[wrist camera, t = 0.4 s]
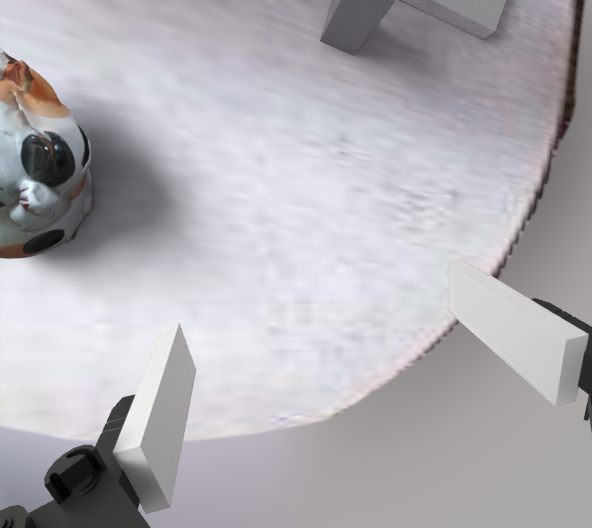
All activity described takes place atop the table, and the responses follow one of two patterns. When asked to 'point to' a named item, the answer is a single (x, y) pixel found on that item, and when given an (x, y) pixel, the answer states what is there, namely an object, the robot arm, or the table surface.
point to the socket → (465, 13)
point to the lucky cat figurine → (39, 165)
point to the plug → (352, 22)
